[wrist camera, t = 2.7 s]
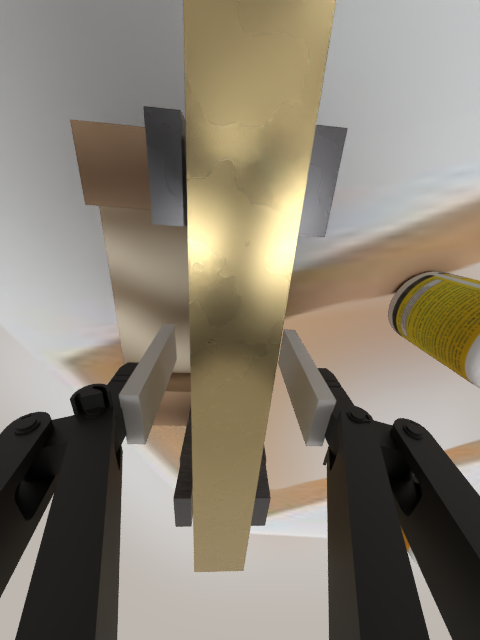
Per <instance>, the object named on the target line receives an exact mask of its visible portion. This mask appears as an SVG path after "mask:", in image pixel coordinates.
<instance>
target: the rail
mask: <svg viewBox="0 0 480 640" xmlns="http://www.w3.org/2000/svg"><path fill="white" fill-rule="evenodd" d="M335 5H336V0H183V13H184V65H185V116H186V167H187V219H188V270H189V322H190V373H191V424H192V476H193V526H194V571H195V572H215V571H243V570H244V563H245V557H246V551H247V545H248V539H249V533H250V527H251V521H252V514H253V508H254V502H255V496H256V490H257V484H258V478H259V471H260V465H261V459H262V453H263V447H264V441H265V435H266V428H267V422H268V415H269V410H270V404H271V397H272V391H273V385H274V379H275V373H276V367H277V361H278V355H279V348H280V342H281V336H282V330H283V324H284V318H285V312H286V306H287V299H288V293H289V287H290V281H291V275H292V269H293V263H294V256H295V250H296V244H297V238H298V232H299V226H300V220H301V214H302V207H303V201H304V195H305V189H306V183H307V177H308V171H309V164H310V158H311V152H312V146H313V140H314V134H315V128H316V121H317V115H318V109H319V103H320V97H321V91H322V85H323V78H324V72H325V66H326V60H327V54H328V48H329V42H330V35H331V29H332V23H333V17H334V11H335Z"/></svg>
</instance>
